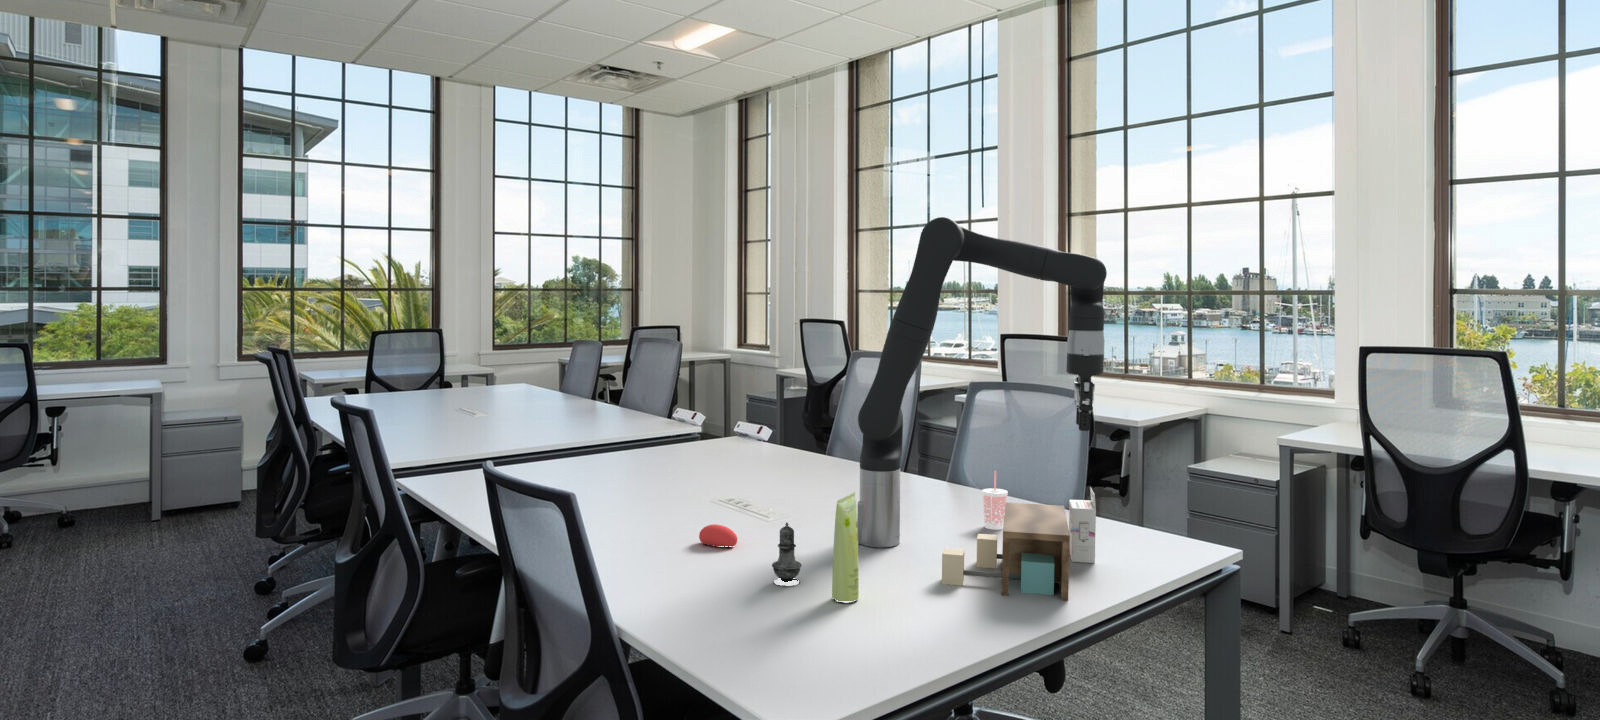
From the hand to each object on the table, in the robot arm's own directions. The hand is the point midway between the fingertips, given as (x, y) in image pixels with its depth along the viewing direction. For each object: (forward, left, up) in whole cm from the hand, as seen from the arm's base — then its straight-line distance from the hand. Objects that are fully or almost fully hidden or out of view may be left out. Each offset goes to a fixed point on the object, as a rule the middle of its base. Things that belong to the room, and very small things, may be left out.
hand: (1082, 427), depth 188 cm
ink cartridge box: (0, +1, -29) cm, 29 cm away
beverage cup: (-19, +22, -29) cm, 40 cm away
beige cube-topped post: (-14, -10, -28) cm, 33 cm away
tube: (-44, -39, -29) cm, 65 cm away
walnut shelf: (-10, -17, -28) cm, 34 cm away
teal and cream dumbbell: (-17, -23, -28) cm, 40 cm away
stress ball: (-79, -11, -29) cm, 85 cm away
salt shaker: (-57, -32, -29) cm, 71 cm away
